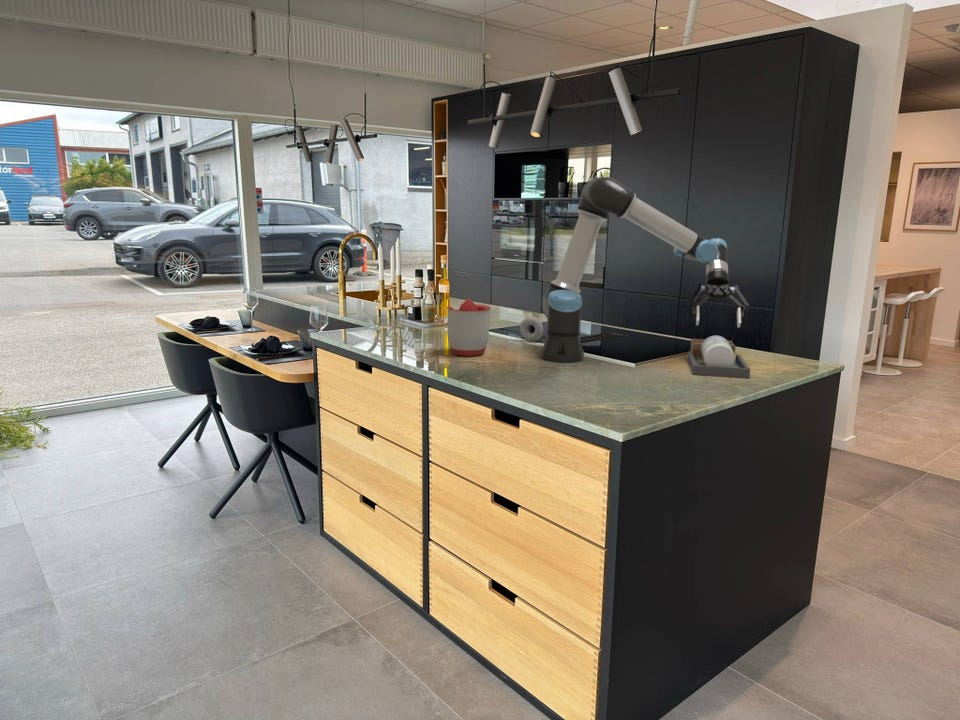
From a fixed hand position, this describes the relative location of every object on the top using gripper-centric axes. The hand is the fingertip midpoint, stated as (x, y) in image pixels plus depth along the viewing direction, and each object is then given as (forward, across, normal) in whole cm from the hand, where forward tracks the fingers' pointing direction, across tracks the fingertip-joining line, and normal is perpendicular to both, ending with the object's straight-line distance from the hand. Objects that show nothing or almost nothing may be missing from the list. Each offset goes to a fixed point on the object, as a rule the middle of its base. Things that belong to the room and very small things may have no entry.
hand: (718, 324), depth 232 cm
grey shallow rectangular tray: (+14, 0, -6) cm, 15 cm away
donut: (-5, +67, -25) cm, 72 cm away
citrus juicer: (+15, +87, -5) cm, 88 cm away
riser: (+3, 0, -17) cm, 17 cm away
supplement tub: (+6, 0, -6) cm, 8 cm away
